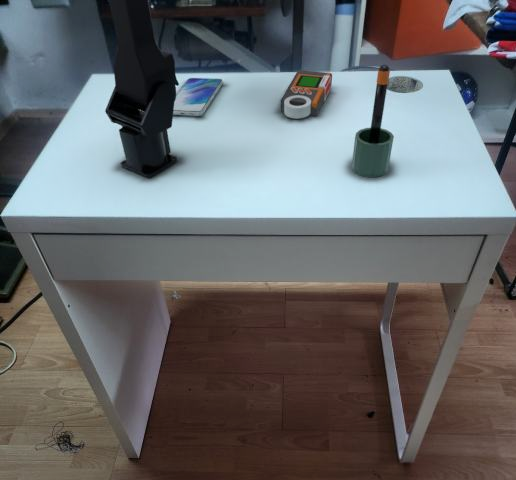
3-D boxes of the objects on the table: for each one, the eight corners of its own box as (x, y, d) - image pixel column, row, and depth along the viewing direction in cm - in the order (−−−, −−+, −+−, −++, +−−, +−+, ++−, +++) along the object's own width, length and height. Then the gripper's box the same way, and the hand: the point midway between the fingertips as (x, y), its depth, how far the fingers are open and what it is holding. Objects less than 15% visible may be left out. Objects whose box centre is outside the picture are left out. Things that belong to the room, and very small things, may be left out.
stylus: (372, 168, 75) (387, 67, 65) (363, 165, 76) (376, 65, 65) (377, 164, 76) (392, 64, 65) (368, 161, 77) (382, 61, 66)
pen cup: (377, 181, 74) (382, 148, 70) (345, 170, 76) (348, 138, 72) (394, 165, 76) (400, 133, 73) (362, 155, 79) (367, 124, 75)
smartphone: (163, 110, 90) (188, 77, 99) (164, 115, 90) (189, 82, 100) (201, 112, 88) (223, 78, 98) (202, 117, 89) (224, 83, 99)
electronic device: (276, 104, 86) (298, 67, 95) (276, 121, 89) (298, 83, 98) (315, 108, 85) (333, 70, 94) (314, 125, 87) (332, 86, 96)
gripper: (347, -126, 69) (340, 5, 81) (246, -132, 78) (253, -13, 90) (297, -109, 64) (297, 28, 76) (195, -118, 73) (210, 7, 85)
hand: (263, 11), depth 82 cm, fingers open, 9 cm apart
